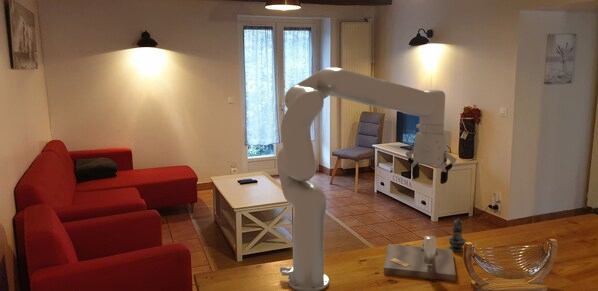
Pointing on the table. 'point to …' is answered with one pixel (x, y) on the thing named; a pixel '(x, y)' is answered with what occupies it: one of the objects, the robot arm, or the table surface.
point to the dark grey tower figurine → (457, 237)
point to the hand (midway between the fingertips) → (429, 180)
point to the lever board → (419, 263)
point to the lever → (429, 250)
